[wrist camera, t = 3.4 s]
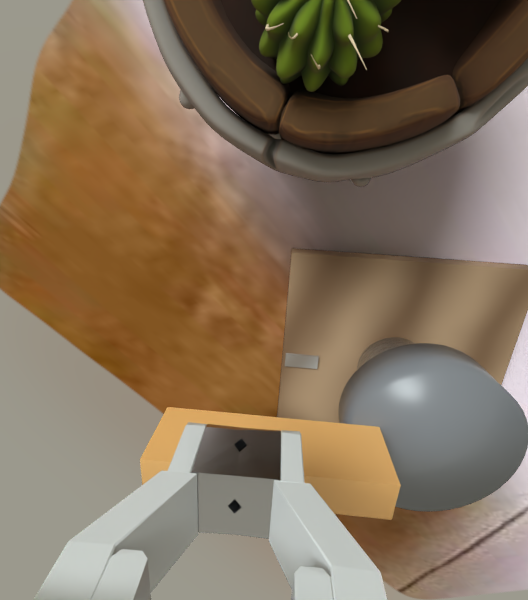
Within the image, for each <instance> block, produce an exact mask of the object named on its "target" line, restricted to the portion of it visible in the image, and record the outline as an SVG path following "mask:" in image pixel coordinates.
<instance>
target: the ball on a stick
mask: <svg viewBox="0 0 528 600" xmlns="http://www.w3.org/2000/svg"><path fill="white" fill-rule="evenodd" d="M338 413H339V422H340V423H333V422H322V421H311V420H301V419H290V418H279V417H268V416H258V415H247V414H236V413H226V412H215V411H204V410H193V409H183V408H172V407H167V409H166V411H165V413H164V415H163V417H162V419H161V420H160V423H159V424H158V426H157V428H156V430H155V432H154V434H153V436H152V438H151V440H150V441H149V444H148V445H147V447H146V449H145V451H144V453H143V455H142V457H141V459H140V463H141V474H142V485H143V484H144V483H146V482H147V481H148V480H150V479H151V478H152V477H154V476H155V475H156V474H158V473H159V472H160V471H168V468H169V466H170V463H171V461H172V458H173V456H174V453H175V451H176V448H177V446H178V443H179V441H180V438H181V436H182V433H183V431H184V428H185V426H186V425H187V424H188V422H192V423H201V424H214V425H223V426H233V427H242V428H254V429H267V430H280V431H281V430H286V431H300V433H301V439H302V453H303V467H304V482H305V483H309V484H311V485H312V486H313V487H314V489H315V490H316V491H317V492H318V494H319V495H320V496H321V497H322V499H323V500H324V501H325V502H326V504H327V505H328V506H329V507H330V509H331V510H332V511H333V513H334V514H341V515H350V516H360V517H369V518H379V519H388V520H392V517H393V513H394V509H395V507H399V508H403V509H407V510H414V511H442V510H450V509H454V508H459V507H462V506H465V505H468V504H471V503H474V502H476V501H478V500H481V499H482V498H484V497H486V496H488V495H490V494H491V493H493V492H494V491H496V490H497V489H499V488H500V487H501V486H502V485H503V484H504V483H506V482H507V481H508V480H509V479H510V478H511V476H512V475H513V474H514V473H515V472H516V470H517V469H518V467H519V466H520V464H521V462H522V460H523V458H524V456H525V453H526V450H527V446H528V424H527V419H526V417H525V415H524V412H523V410H522V409H521V407H520V405H519V404H518V402H517V401H516V400H515V399H514V398H513V397H512V396H511V395H510V394H509V393H508V392H507V391H506V390H505V389H504V388H503V387H502V386H501V385H500V384H499V383H498V382H497V381H496V380H495V379H494V378H493V377H492V376H491V375H490V374H489V373H488V372H487V371H486V370H485V369H484V368H483V367H482V366H481V365H480V364H479V363H478V362H477V361H475V360H474V359H473V358H472V357H470V356H469V355H467V354H465V353H463V352H462V351H459V350H457V349H454V348H452V347H448V346H444V345H439V344H432V343H417V344H408V345H403V346H399V347H395V348H392V349H389V350H387V351H384V352H382V353H380V354H378V355H376V356H375V357H373V358H371V359H370V360H368V361H367V362H366V363H364V364H363V365H362V366H361V367H360V368H359V369H358V370H357V371H356V372H355V373H354V374H353V375H352V376H351V378H350V379H349V380H348V382H347V384H346V385H345V387H344V389H343V392H342V394H341V398H340V402H339V410H338Z"/></svg>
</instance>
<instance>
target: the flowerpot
mask: <svg viewBox="0 0 528 600" xmlns="http://www.w3.org/2000/svg"><path fill="white" fill-rule="evenodd" d="M143 2H144V6H145V9H146V13H147V16H148V19H149V22H150V25H151V28H152V31H153V34H154V36H155V39H156V42H157V44H158V47H159V49H160V52H161V54H162V56H163V59H164V61H165V63H166V65H167V67H168V69H169V71H170V73H171V74H172V76H173V78H174V79H175V81H176V82H177V84H178V86H179V87H180V89H181V91H180V95H179V100H180V103H181V104H182V106H183V107H185V108H187V109H194V108H195V109H196V110H197V112H198V113H199V114H200V116H201V117H202V118H203V119H204V120H205V122H206V123H207V124H208V125H209V126H210V127H211V128H212V129H213V130H214V131H216V132H217V133H218V134H219V135H220V136H221V137H223V138H224V139H225V140H227V141H228V142H230V143H231V144H232V145H234V146H235V147H237V148H238V149H240V150H241V151H243V152H245V153H246V154H248V155H249V156H251V157H253V158H254V159H256V160H258V161H259V162H261V163H263V164H265V165H266V166H268V167H270V168H272V169H274V170H276V171H279V172H282V173H285V174H289V175H293V176H297V177H301V178H305V179H309V180H314V181H321V182H336V181H342V180H349V179H351V181H352V182H353V183H354V185H356V186H358V187H364V186H366V185H367V184H368V183H369V181H370V179H371V178H372V177H377V176H381V175H385V174H388V173H391V172H394V171H397V170H399V169H402V168H404V167H407V166H409V165H412V164H414V163H416V162H419V161H421V160H423V159H425V158H427V157H430V156H432V155H434V154H436V153H438V152H440V151H442V150H444V149H446V148H448V147H450V146H452V145H454V144H456V143H458V142H460V141H462V140H464V139H466V138H468V137H469V136H471V135H472V134H474V133H475V132H476V131H477V130H479V129H480V128H481V127H482V126H483V125H485V124H486V123H487V122H488V121H489V120H490V119H491V118H493V117H494V116H495V115H496V114H497V113H498V112H499V111H501V110H502V109H503V108H504V107H505V106H506V105H507V104H508V103H510V102H511V101H512V100H513V99H514V98H515V97H516V96H517V95H518V94H519V93H521V92H522V91H523V90H524V89H525V88H526V87H527V86H528V0H143ZM218 95H219V96H218ZM220 98H221V99H222V100H223V101H224V102H225V103H226V104H227V105H228V106H229V107H230V108H231V109H232V110H233V111H234V112H235V113H236V114H235V113H234V112H233V111H232V110H231V109H230V108H228V107H227V106H226V105H225V103H224V102H223V101H222V100H221V99H220ZM238 115H239V116H240V117H239V116H238Z"/></svg>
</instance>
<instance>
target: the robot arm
mask: <svg viewBox="0 0 528 600" xmlns="http://www.w3.org/2000/svg"><path fill="white" fill-rule="evenodd" d="M198 532H202V533H218V534H235V535H242V536H250V537H258V538H266V539H269V542H270V544H271V546H272V548H273V551H274V553H275V555H276V557H277V559H278V561H279V564H280V566H281V568H282V570H283V572H284V574H285V576H286V579H287V581H288V583H289V585H290V587H291V589H292V596H291V600H387V597H386V592H385V588H384V584H383V580H382V576H381V572H380V571H379V570H378V568H377V567H376V566H375V564H374V563H373V562H372V561H371V559H370V558H369V557H368V556H367V554H366V553H365V552H364V551H363V549H362V548H361V547H360V545H359V544H358V543H357V542H356V540H355V539H354V538H353V537H352V535H351V534H350V533H349V532H348V530H347V529H346V528H345V526H344V525H343V524H342V523H341V521H340V520H339V519H338V518H337V516H336V515H335V514H334V513H333V511H332V510H331V509H330V507H329V506H328V505H327V504H326V502H325V501H324V500H323V499H322V497H321V496H320V495H319V494H318V492H317V491H316V490H315V489H314V487H313V486H312V485H311V484H309V483H305V482H304V467H303V453H302V439H301V433H300V431H286V430H281V431H280V430H267V429H254V428H242V427H233V426H223V425H214V424H201V423H192V422H188V424H187V425H186V426H185V428H184V431H183V433H182V436H181V438H180V441H179V443H178V446H177V448H176V451H175V453H174V456H173V458H172V461H171V463H170V466H169V468H168V471H160V472H159V473H158V474H156V475H155V476H154V477H152V478H151V479H150V480H148V481H147V482H146V483H144V484H143V485H142V486H140V487H139V488H138V489H137V490H135V491H134V492H133V493H131V494H130V495H129V496H127V497H126V498H125V499H124V500H122V501H121V502H119V503H118V504H117V505H116V506H114V507H113V508H112V509H111V510H109V511H108V512H106V513H105V514H104V515H102V516H101V517H100V518H98V519H97V520H96V521H94V522H93V523H92V524H91V525H89V526H88V527H87V528H85V529H84V530H83V531H81V532H80V533H79V534H77V535H76V536H75V537H74V538H72V539H71V540H69V542H68V543H67V545H66V546H65V548H64V549H63V551H62V553H61V554H60V556H59V558H58V560H57V561H56V563H55V565H54V566H53V568H52V570H51V571H50V573H49V575H48V576H47V578H46V580H45V581H44V583H43V585H42V586H41V588H40V590H39V591H38V593H37V595H36V596H35V598H34V600H151V592H152V591H153V589H154V588H155V587H156V586H157V585H158V583H159V582H160V581H161V580H162V578H163V577H164V576H165V575H166V573H167V572H168V571H169V570H170V568H171V567H172V566H173V565H174V564H175V562H176V561H177V560H178V559H179V558H180V556H181V555H182V554H183V553H184V551H185V550H186V549H187V548H188V546H189V545H190V544H191V543H192V542H193V540H194V539H195V538H196V537H197V535H198Z"/></svg>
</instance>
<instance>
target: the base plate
mask: <svg viewBox="0 0 528 600" xmlns="http://www.w3.org/2000/svg"><path fill="white" fill-rule="evenodd" d="M527 310H528V265H520V264H506V263H492V262H478V261H464V260H450V259H436V258H422V257H408V256H394V255H380V254H366V253H352V252H338V251H324V250H310V249H296V248H292V251H291V263H290V274H289V286H288V297H287V308H286V320H285V331H284V343H283V354H282V366H281V377H280V389H279V400H278V412H277V417H279V418H290V419H301V420H311V421H322V422H333V423H340V422H339V413H338V410H339V402H340V398H341V394H342V392H343V389H344V387H345V385H346V384H347V382H348V380H349V379H350V378H351V376H352V375H353V374H354V373H355V372H356V371H357V364H358V361H359V358H360V356H361V355H362V353H363V352H364V351H365V350H366V349H367V348H368V347H369V346H370V345H371V344H373V343H375V342H377V341H379V340H382V339H385V338H392V337H399V338H404V339H408V340H410V341H412V342H414V343H416V344H417V343H432V344H439V345H444V346H448V347H452V348H454V349H457V350H459V351H462V352H463V353H465V354H467V355H469V356H470V357H472V358H473V359H474V360H475V361H477V362H478V363H479V364H480V365H481V366H482V367H483V368H484V369H485V370H486V371H487V372H488V373H489V374H490V375H491V376H492V377H493V378H494V379H495V380H496V381H497V382H498V383H499V384H500V385H501V384H502V381H503V379H504V376H505V373H506V370H507V367H508V364H509V361H510V359H511V356H512V353H513V350H514V347H515V344H516V342H517V339H518V336H519V333H520V330H521V327H522V325H523V322H524V319H525V316H526V313H527Z"/></svg>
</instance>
